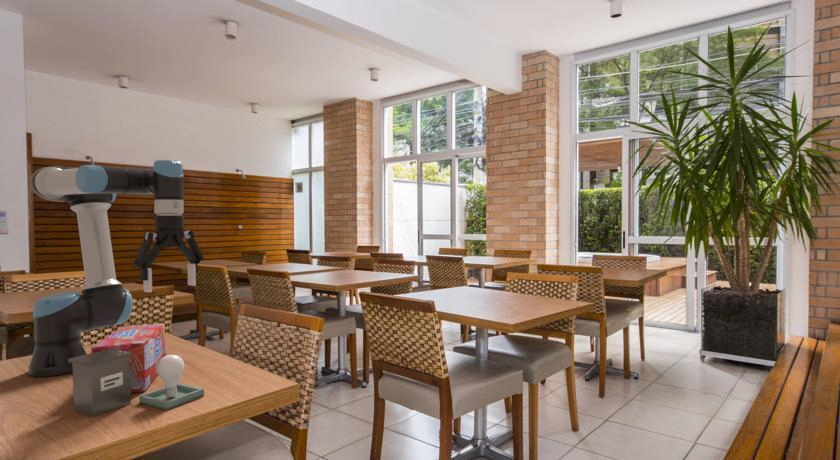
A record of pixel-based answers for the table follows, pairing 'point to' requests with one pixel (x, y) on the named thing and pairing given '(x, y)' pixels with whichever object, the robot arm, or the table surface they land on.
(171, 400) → the tray
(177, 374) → the lightbulb
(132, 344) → the box
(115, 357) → the grey lidded bin
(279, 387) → the table surface
